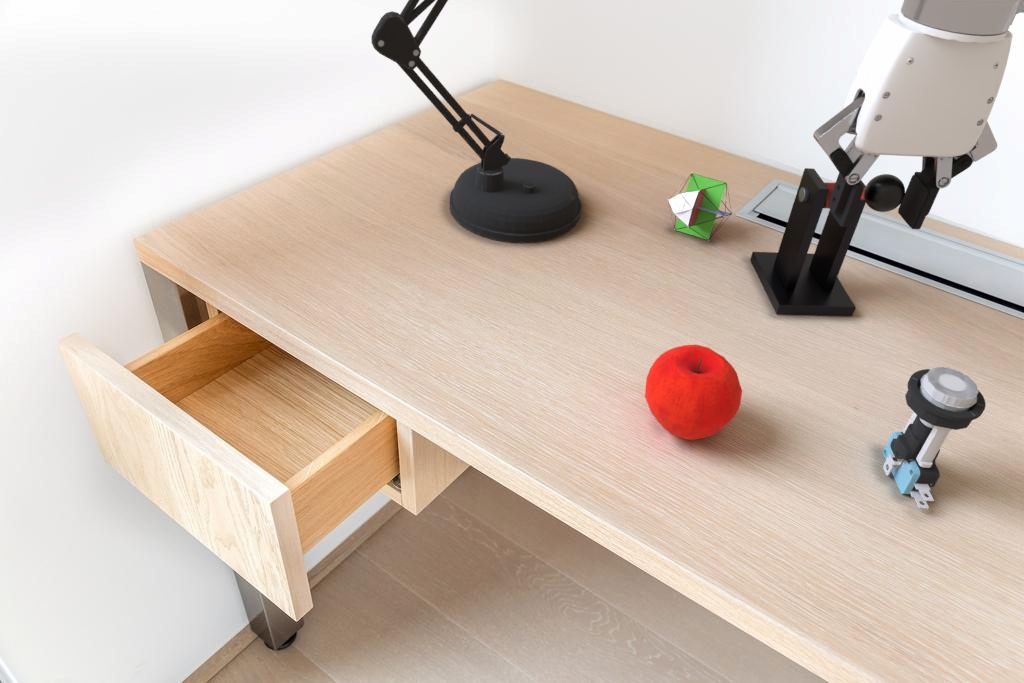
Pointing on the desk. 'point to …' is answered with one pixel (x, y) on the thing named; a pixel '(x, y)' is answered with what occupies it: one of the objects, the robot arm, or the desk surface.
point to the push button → (930, 427)
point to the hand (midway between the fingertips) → (874, 218)
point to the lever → (879, 193)
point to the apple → (692, 391)
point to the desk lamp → (484, 154)
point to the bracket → (808, 257)
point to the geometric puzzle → (699, 206)
